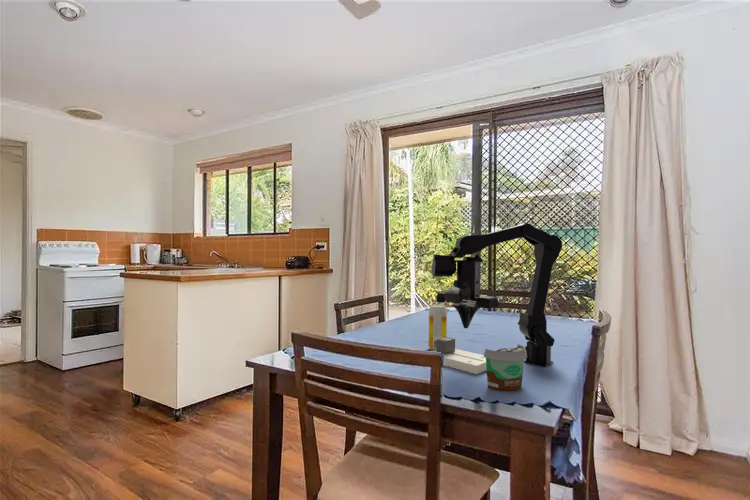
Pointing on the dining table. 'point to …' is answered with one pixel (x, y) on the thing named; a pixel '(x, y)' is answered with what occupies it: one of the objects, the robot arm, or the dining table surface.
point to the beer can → (437, 324)
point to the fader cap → (445, 345)
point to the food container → (505, 368)
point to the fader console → (466, 361)
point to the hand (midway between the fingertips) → (465, 328)
